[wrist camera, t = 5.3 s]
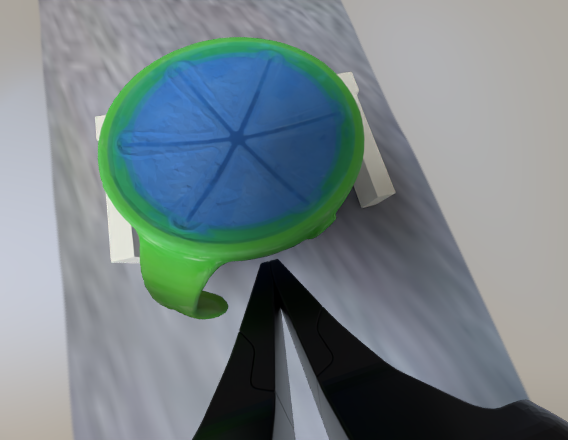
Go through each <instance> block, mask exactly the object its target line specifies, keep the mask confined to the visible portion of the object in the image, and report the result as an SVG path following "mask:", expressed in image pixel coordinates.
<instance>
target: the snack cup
mask: <svg viewBox="0 0 568 440" xmlns="http://www.w3.org/2000/svg"><path fill="white" fill-rule="evenodd" d="M364 141H365V137H364V127H363V121H362V117H361V113H360V110H359V108H358V105H357V103H356V101H355V99H354V97H353V95H352V94H351V92H350V90H349V89H348V87H347V86H346V85H345V83H344V82H343V81H342V79H341V78H340V77H339V76H338V75H337V74H336V73H335V72H334V71H333V70H331V69H330V68H329V67H328V66H327V65H326V64H325V63H323V62H322V61H320V60H319V59H317V58H315V57H314V56H312V55H310V54H308V53H307V52H305V51H302V50H300V49H298V48H295V47H292V46H290V45H287V44H284V43H281V42H276V41H272V40H265V39H259V38H247V37H230V38H219V39H213V40H208V41H203V42H198V43H195V44H192V45H189V46H186V47H184V48H181V49H178V50H176V51H173V52H171V53H169V54H167V55H165V56H163V57H162V58H160V59H158V60H156V61H154V62H153V63H151V64H150V65H149V66H147V67H145V68H144V69H143V70H142V71H140V72H139V73H138V74H137V75H136V76H134V77H133V78H132V79H131V80H130V81H129V83H128V84H126V85H125V87H124V88H123V89H122V90H121V91H120V93H119V94H118V96H117V97H116V98H115V99H114V101H113V103H112V105H111V106H110V108H109V110H108V112H107V114H106V117H105V119H104V122H103V124H102V127H101V131H100V136H99V141H98V164H99V172H100V177H101V180H102V182H103V188H104V189H105V191H106V193H107V195H108V197H109V199H110V200H111V202H112V203H113V205H114V206H115V208H116V210H117V211H118V212H119V213H120V214H121V215H122V217H123V218H124V219H125V220H126V221H127V222H128V223H129V224H130V225H131V226H132V227H133V228H134V229H135V230H136V231H137V233H138V236H139V242H140V249H139V251H140V265H141V273H142V277H143V280H144V284H145V287H146V288H147V290H148V292H149V293H150V295H151V296H152V298H153V299H154V300H155V301H157V302H158V303H159V304H161V305H163V306H165V307H167V308H168V309H174V310H176V311H178V312H179V313H183V314H184V315H187V316H189V317H193V318H196V319H211V318H215V317H219V316H220V315H222V314H224V313H226V311H227V309H228V304H227V302H226V301H225V300H224V299H223V298H222V297H221V296H218V295H216V294H213V293H209V292H206V291H202V290H203V288H204V286H205V285H206V283H207V281H208V279H209V278H210V277H211V275H212V274H213V273H214V272H215V271H216V270H217V269H218V268H219V267H220V266H221V265H223V264H225V263H227V262H231V261H244V260H250V259H256V258H261V257H265V256H269V255H272V254H275V253H278V252H280V251H283V250H286V249H289V248H291V247H294V246H295V245H297V244H299V243H301V242H302V241H304V240H306V239H313V238H315V237H317V236H318V235H320V234H321V233H322V232H323V231H324V230H326V229H327V228H328V227H329V226H330V225H331V224H332V223H333V222H334V221H335V220H336V212H337V210H338V209H339V208H340V207H341V205H342V204H343V202H344V201H345V199H346V198H347V196H348V194H349V193H350V191H351V189H352V187H353V185H354V183H355V181H356V179H357V177H358V174H359V172H360V169H361V165H362V161H363V155H364Z"/></svg>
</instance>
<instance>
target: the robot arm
mask: <svg viewBox="0 0 568 440" xmlns="http://www.w3.org/2000/svg"><path fill="white" fill-rule="evenodd" d="M281 310H282V313H283V316H284V318H285V321H286V324H287V326H288V329H289V332H290V334H291V337H292V340H293V343H294V345H295V348H296V351H297V353H298V356H299V359H300V362H301V364H302V367H303V370H304V372H305V375H306V378H307V380H308V383H309V386H310V389H311V391H312V394H313V397H314V399H315V402H316V405H317V408H318V410H319V413H320V416H321V418H322V420H323V424H324V427H325V429H326V432H327V435H328V437H329V440H568V422H567V421H565V420H563V419H562V418H560V417H558V416H557V415H555V414H553V413H551V412H550V411H548V410H546V409H544V408H542V407H540V406H538V405H536V404H535V403H533V402H531V401H529V400H520V401H516V402H513V403H511V404H508V405H505V406H503V407H500V408H495V409H490V408H482V407H478V406H474V405H472V404H469V403H467V402H464V401H462V400H460V399H458V398H456V397H454V396H451V395H449V394H447V393H445V392H443V391H441V390H439V389H437V388H435V387H432V386H430V385H428V384H426V383H424V382H422V381H420V380H418V379H415V378H413V377H411V376H409V375H407V374H405V373H403V372H401V371H399V370H397V369H395V368H394V367H392V366H391V365H389V364H388V363H387V362H385V361H384V360H383V359H381V358H380V357H379V356H378V355H376V354H375V353H374V352H373V351H372V350H370V349H369V348H368V347H367V346H366V345H364V344H363V343H362V342H361V341H360V340H358V339H357V338H356V337H355V336H354V335H352V334H351V333H350V332H349V331H348V330H347V329H346V328H344V327H343V326H342V325H341V324H340V323H339V322H338V321H337V320H336V319H335V318H334V317H333V316H332V315H331V314H330V313H329V312H328V311H327V310H326V309H325V308H324V307H322V305H321V304H320V303H319V302H318V301H317V300H316V299H315V298H314V296H313V295H312V294H311V293H310V292H309V291H308V290H307V289H306V288H305V287H304V286H303V285H302V284H301V283H300V282H299V281H298V280H297V279H296V277H295V276H294V275H293V274H292V273H291V272H290V271H289V270H288V269H287V268H286V267H285V266H284V265H283V264H282V263H281V262H280V261H279V260H278V259H275V260H271V261H270V262H269V261H267V262H264V263H261V265H260V267H259V271H258V274H257V277H256V280H255V283H254V286H253V289H252V292H251V295H250V299H249V302H248V305H247V308H246V311H245V314H244V317H243V320H242V323H241V326H240V330H239V331H240V332H239V333H238V335H237V339H236V342H235V345H234V347H233V350H232V353H231V356H230V358H229V361H228V363H227V366H226V368H225V370H224V373H223V375H222V377H221V380H220V382H219V384H218V386H217V389H216V391H215V393H214V396H213V398H212V400H211V402H210V405H209V407H208V409H207V411H206V414H205V416H204V418H203V420H202V422H201V424H200V426H199V428H198V430H197V432H196V434H195V435H194V437H193V439H192V440H295V432H294V422H293V413H292V404H291V395H290V386H289V377H288V368H287V359H286V350H285V341H284V332H283V323H282V314H281Z"/></svg>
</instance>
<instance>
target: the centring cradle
mask: <svg viewBox="0 0 568 440" xmlns="http://www.w3.org/2000/svg"><path fill="white" fill-rule="evenodd" d="M337 75H338V76H339V77H340V78H341V79H342V81H343V82H344V83H345V85H346V86H347V87H348V89H349V90H350V92H351V94H352V95H353V97H354V99H355V101H356V103H357V105H358V108H359V110H360V113H361V117H362V121H363V127H364V137H365V141H364V155H363V161H362V165H361V169H360V172H359V174H358V177H357V179H356V181H355V183H354V188H355V191H356V194H357V197H358V199H359V202H360V205H361V208H364V207H368V206H372V205H376V204H378V203H380V202H381V201H383V200H385V199H386V198H388V197H390V196H391V195H393V194H395V193H396V192H395V190H394V187H393V185H392V182H391V180H390V177H389V175H388V172H387V170H386V167H385V165H384V162H383V160H382V157H381V155H380V152H379V150H378V147H377V145H376V142H375V140H374V137H373V135H372V132H371V130H370V127H369V125H368V122H367V120H366V117H365V115H364V112H363V110H362V107H361V105H360V102H359V100H358V97H357V94H358V92H359V89H358V87H357V84H356V82H355V79H354V77H353V74H352V72H347V73H341V74H337ZM105 117H106V115H103V116H97V117H95V123H96V138H97V140H98V141H99V136H100V131H101V127H102V124H103V122H104V119H105ZM106 200H107V213H108V227H109V240H110V253H111V262H112V263H140V251H139V249H140V242H139V236H138V233H137V231H136V230H135V229H134V228H133V227H132V226H131V225H130V224H129V223H128V222H127V221H126V220H125V219H124V218H123V217H122V215H121V214H120V213H119V212H118V211H117V210H116V208H115V206H114V205H113V203H112V202H111V200H110V199H109V197H108V195H107V193H106Z"/></svg>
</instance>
